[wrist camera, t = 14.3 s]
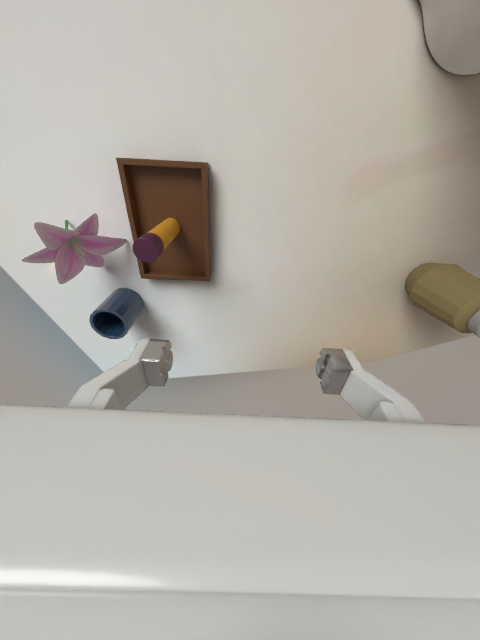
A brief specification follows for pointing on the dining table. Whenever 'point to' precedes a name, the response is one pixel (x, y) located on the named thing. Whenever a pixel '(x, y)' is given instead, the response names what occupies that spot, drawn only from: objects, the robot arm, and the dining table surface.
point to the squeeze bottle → (447, 295)
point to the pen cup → (117, 313)
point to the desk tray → (170, 214)
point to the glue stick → (156, 240)
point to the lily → (73, 247)
